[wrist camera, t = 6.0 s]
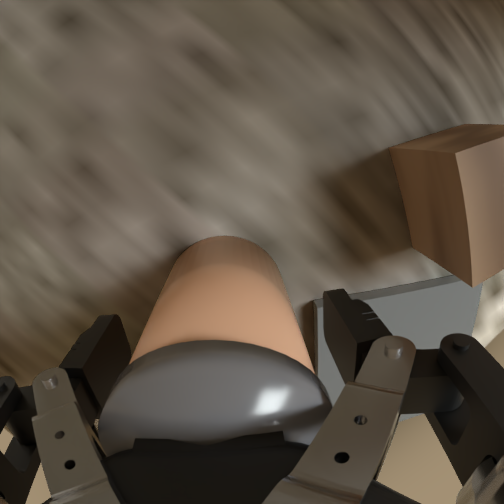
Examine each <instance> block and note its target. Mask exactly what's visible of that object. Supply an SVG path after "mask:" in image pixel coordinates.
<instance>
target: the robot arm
mask: <svg viewBox="0 0 504 504" xmlns="http://www.w3.org/2000/svg"><path fill="white" fill-rule="evenodd" d="M323 331H324V337H325V341H326V344H327V346H328V348H329V350H330V353H331V355H332V357H333V359H334V361H335V364H336V366H337V368H338V370H339V373H340V375H341V377H342V379H343V381H344V384H345V386H344V388H343V390H342V392H341V394H340V395H339V397H338V399H337V401H336V402H335V404H334V406H333V408H332V409H331V411H330V413H329V414H328V416H327V418H326V420H325V421H324V423H323V425H322V426H321V428H320V429H319V431H318V433H317V434H316V436H315V437H314V439H313V441H312V442H311V444H310V445H308V444H304V443H299V442H292V441H285V440H284V435H283V431H277V432H270V433H261V434H253V435H244V436H241V437H237V438H234V439H230V440H226V441H222V442H219V443H215V444H211V445H198V444H192V443H186V442H181V441H176V440H171V439H139V438H135V440H134V444H133V448H132V449H128V450H124V451H120V452H118V453H115V454H113V455H110V456H108V457H107V455H106V454H105V452H104V450H103V448H102V446H101V443H100V440H99V435H98V430H97V428H96V426H95V424H94V422H95V419H100V416H101V413H102V410H103V408H104V406H105V403H106V401H107V398H108V396H109V394H110V391H111V389H112V387H113V384H114V383H115V381H116V379H117V377H118V376H119V374H120V373H121V372H122V371H123V370H124V369H125V368H126V367H127V366H128V365H129V363H130V360H131V349H130V346H129V343H128V340H127V337H126V334H125V331H124V328H123V325H122V322H121V319H120V317H119V316H118V315H117V314H115V315H101V316H99V317H98V318H97V320H96V321H95V322H94V324H93V325H92V327H91V328H89V329H88V330H86V331H85V332H84V333H83V334H81V335H80V337H79V338H78V339H77V341H76V342H75V344H74V345H73V347H72V348H71V350H70V351H69V352H68V354H67V355H66V357H65V358H64V360H63V361H62V363H61V364H60V366H59V367H58V368H50V369H47V370H45V371H43V372H41V373H40V374H38V375H37V376H36V377H35V379H34V381H33V384H32V386H26V387H20V388H19V387H18V385H17V383H16V382H15V380H14V379H13V378H12V377H10V376H4V377H0V434H1V432H2V430H3V428H4V426H5V425H6V426H7V427H8V429H9V430H10V431H11V433H12V434H13V435H14V436H13V438H12V440H11V442H10V444H9V446H8V448H7V450H6V452H5V454H3V453H2V452H1V451H0V504H25V503H26V500H27V497H28V494H29V492H30V488H31V486H32V483H33V480H34V478H35V475H36V473H37V470H38V468H39V465H40V463H42V467H43V471H44V474H45V478H46V481H47V484H48V488H49V491H50V494H51V498H49V499H48V500H46V501H45V502H44V503H42V504H421V503H418V502H416V501H414V500H412V499H410V498H408V497H406V496H404V495H402V494H400V493H398V492H396V491H394V490H392V489H391V488H389V487H387V486H385V485H383V484H381V483H379V482H377V481H376V480H377V478H378V476H379V473H380V471H381V468H382V466H383V463H384V460H385V458H386V455H387V452H388V450H389V447H390V445H391V441H392V439H393V436H394V434H395V431H396V428H397V425H398V422H399V419H400V416H401V414H419V413H424V414H425V415H426V417H427V419H428V421H429V423H430V424H431V426H432V428H433V430H434V432H435V434H436V436H437V437H438V439H439V441H440V443H441V445H442V447H443V449H444V451H445V452H446V454H447V456H448V458H449V460H450V462H451V464H452V466H453V468H454V470H455V472H456V474H457V476H458V478H459V480H460V482H461V484H462V486H463V487H462V489H461V490H460V492H459V493H458V496H457V500H456V504H504V369H503V367H502V366H501V365H500V364H499V363H498V362H497V361H496V360H495V359H494V358H493V357H492V356H491V354H490V353H489V352H488V351H487V350H486V349H485V348H484V347H483V346H482V345H481V344H480V343H479V342H478V341H477V340H476V339H475V338H473V337H471V336H469V335H467V334H462V333H453V334H449V335H447V336H445V337H444V338H443V339H442V340H441V342H440V347H439V349H416V347H415V345H414V343H413V342H412V341H410V340H409V339H407V338H404V337H401V336H393V335H392V333H391V332H390V331H389V330H388V328H387V327H386V326H385V324H384V323H383V322H382V321H381V319H379V317H378V316H377V314H376V313H374V311H373V309H372V308H371V307H370V306H369V304H367V303H365V302H363V301H361V300H360V299H354V300H352V299H351V298H350V296H349V295H348V294H347V292H346V291H345V290H344V289H336V290H330V291H324V293H323Z"/></svg>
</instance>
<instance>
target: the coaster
mask: <svg viewBox="0 0 504 504" xmlns="http://www.w3.org/2000/svg"><path fill="white" fill-rule="evenodd" d="M482 285H483V282H482V283H480V284H478V285H477V286H475V287H473V288H472V287H470V286H469V285H468V284H466V283H465V282H463V281H462V280H461V279H459V278H458V277H456V276H455V275H452V276H447V277H442V278H437V279H432V280H427V281H422V282H417V283H412V284H406V285H401V286H396V287H390V288H385V289H379V290H373V291H368V292H362V293H356V294H350V295H349V296H350V298H351V299H352V300H354V299H360V300H361V301H363V302H365V303H367V304H369V306H370V307H371V308H372V309H373V311H374V313H376V314H377V316H378V317H379V319H381V321H382V322H383V323H384V324H385V326H386V327H387V328H388V330H389V331H390V332H391V333H392V335H393V336H401V337H404V338H407V339H409V340H410V341H412V342H413V343H414V345H415V347H416V349H439V347H440V342H441V340H442V339H443V338H444V337H445V336H447V335H449V334H453V333H462V334H467V335H469V336H471V335H472V332H473V328H474V323H475V319H476V315H477V310H478V306H479V301H480V296H481V290H482ZM313 301H314V347H315V375H316V376H317V377H318V378H319V379H320V380H321V382H322V383H323V385H324V386H325V387H326V390H327V392H328V394H329V396H330V399H331V401H332V404H333V406H334V404H335V402H336V401H337V399H338V397H339V395H340V394H341V392H342V390H343V388H344V386H345V384H344V381H343V379H342V377H341V375H340V373H339V370H338V368H337V366H336V364H335V361H334V359H333V357H332V355H331V353H330V350H329V348H328V346H327V344H326V341H325V337H324V331H323V299H317V300H313ZM421 414H424V413H419V414H401V416H400V419H399V422H400V421H403V420H406V419H409V418H412V417H415V416H418V415H421Z"/></svg>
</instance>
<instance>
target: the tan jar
mask: <svg viewBox="0 0 504 504" xmlns="http://www.w3.org/2000/svg"><path fill="white" fill-rule="evenodd" d="M332 408H333V404H332V401H331V399H330V396H329V394H328V392H327V390H326V387H325V386H324V385H323V383H322V382H321V380H320V379H319V378H318V377H317V376H316V375H315V372H314V369H313V366H312V363H311V360H310V357H309V354H308V351H307V348H306V345H305V343H304V340H303V337H302V334H301V331H300V328H299V325H298V322H297V320H296V317H295V314H294V311H293V308H292V305H291V302H290V300H289V297H288V294H287V291H286V288H285V285H284V283H283V280H282V277H281V274H280V271H279V269H278V267H277V265H276V263H275V262H274V260H273V259H272V258H271V256H270V255H269V254H268V253H267V252H266V251H265V250H263V249H262V248H261V247H259V246H258V245H256V244H255V243H253V242H251V241H248V240H246V239H243V238H239V237H234V236H216V237H211V238H207V239H204V240H201V241H199V242H197V243H195V244H193V245H192V246H190V247H189V248H188V249H186V250H185V251H184V252H183V253H182V254H181V255H180V257H179V258H178V259H177V261H176V262H175V264H174V266H173V268H172V270H171V272H170V274H169V276H168V278H167V280H166V282H165V285H164V287H163V289H162V291H161V293H160V295H159V297H158V300H157V302H156V304H155V306H154V308H153V310H152V313H151V315H150V317H149V319H148V321H147V324H146V326H145V328H144V330H143V333H142V335H141V337H140V340H139V342H138V344H137V346H136V349H135V351H134V353H133V356H132V358H131V360H130V363H129V365H128V366H127V367H126V368H125V369H124V370H123V371H122V372H121V373H120V374H119V376H118V377H117V379H116V381H115V383H114V384H113V387H112V389H111V391H110V394H109V396H108V398H107V401H106V403H105V406H104V408H103V410H102V413H101V416H100V419H99V423H98V435H99V440H100V443H101V446H102V448H103V450H104V452H105V454H106V455H107V457H108V456H110V455H113V454H115V453H118V452H120V451H124V450H128V449H132V448H133V444H134V440H135V438H139V439H171V440H176V441H181V442H186V443H192V444H198V445H211V444H215V443H219V442H222V441H226V440H230V439H234V438H237V437H241V436H244V435H253V434H261V433H270V432H277V431H283V435H284V440H285V441H292V442H299V443H304V444H308V445H310V444H311V442H312V441H313V439H314V437H315V436H316V434H317V433H318V431H319V429H320V428H321V426H322V425H323V423H324V421H325V420H326V418H327V416H328V414H329V413H330V411H331V409H332Z"/></svg>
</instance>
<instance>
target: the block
mask: <svg viewBox="0 0 504 504" xmlns="http://www.w3.org/2000/svg"><path fill="white" fill-rule="evenodd" d="M389 151H390V155H391V158H392V162H393V165H394V169H395V172H396V176H397V180H398V184H399V188H400V192H401V196H402V200H403V204H404V208H405V213H406V217H407V222H408V227H409V231H410V236H411V242H412V247H413V248H414V249H416V250H417V251H419V252H420V253H422V254H424V255H425V256H427V257H428V258H430V259H431V260H433V261H434V262H436V263H437V264H439V265H440V266H442V267H443V268H445V269H446V270H448V271H449V272H450V273H452V274H453V275H455V276H456V277H458V278H459V279H461V280H462V281H463V282H465V283H466V284H468V285H469V286H470V287H472V288H473V287H475V286H477V285H478V284H480V283H482V282H484V281H485V280H487V279H488V278H490V277H492V276H493V275H495V274H497V273H498V272H500V271H501V270H503V269H504V125H492V124H464V125H460V126H457V127H454V128H450V129H447V130H443V131H440V132H437V133H433V134H430V135H427V136H424V137H421V138H417V139H414V140H411V141H408V142H405V143H402V144H398V145H395V146H392V147H389Z"/></svg>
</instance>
